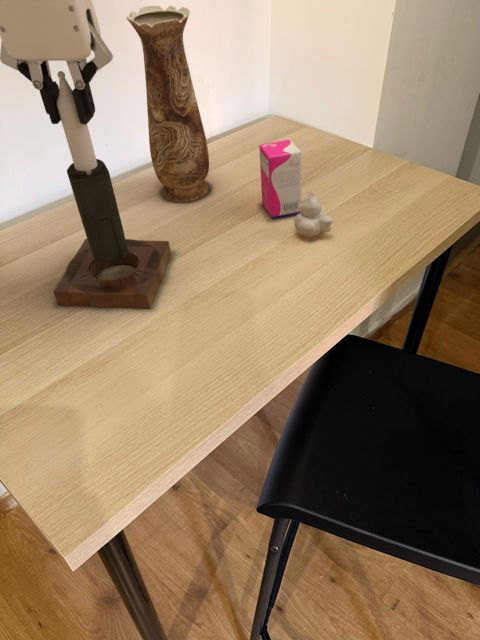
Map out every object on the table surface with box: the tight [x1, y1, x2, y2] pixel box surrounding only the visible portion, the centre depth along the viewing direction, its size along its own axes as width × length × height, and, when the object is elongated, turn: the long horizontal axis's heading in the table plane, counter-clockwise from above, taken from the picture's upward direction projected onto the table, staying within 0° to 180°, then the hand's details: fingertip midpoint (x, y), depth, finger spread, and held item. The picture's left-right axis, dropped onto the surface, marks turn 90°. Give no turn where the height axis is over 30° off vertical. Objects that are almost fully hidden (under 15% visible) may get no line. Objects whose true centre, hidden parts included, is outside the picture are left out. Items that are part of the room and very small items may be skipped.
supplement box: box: [258, 139, 302, 221], centre depth 92 cm, size 6×6×12 cm
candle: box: [57, 70, 129, 263], centre depth 71 cm, size 5×5×25 cm
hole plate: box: [52, 238, 172, 309], centre depth 82 cm, size 14×14×2 cm
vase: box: [125, 5, 210, 203], centre depth 92 cm, size 10×11×30 cm
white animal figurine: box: [293, 189, 334, 238], centre depth 87 cm, size 5×7×8 cm
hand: (73, 118), depth 66 cm, fingers closed on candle, 3 cm apart
